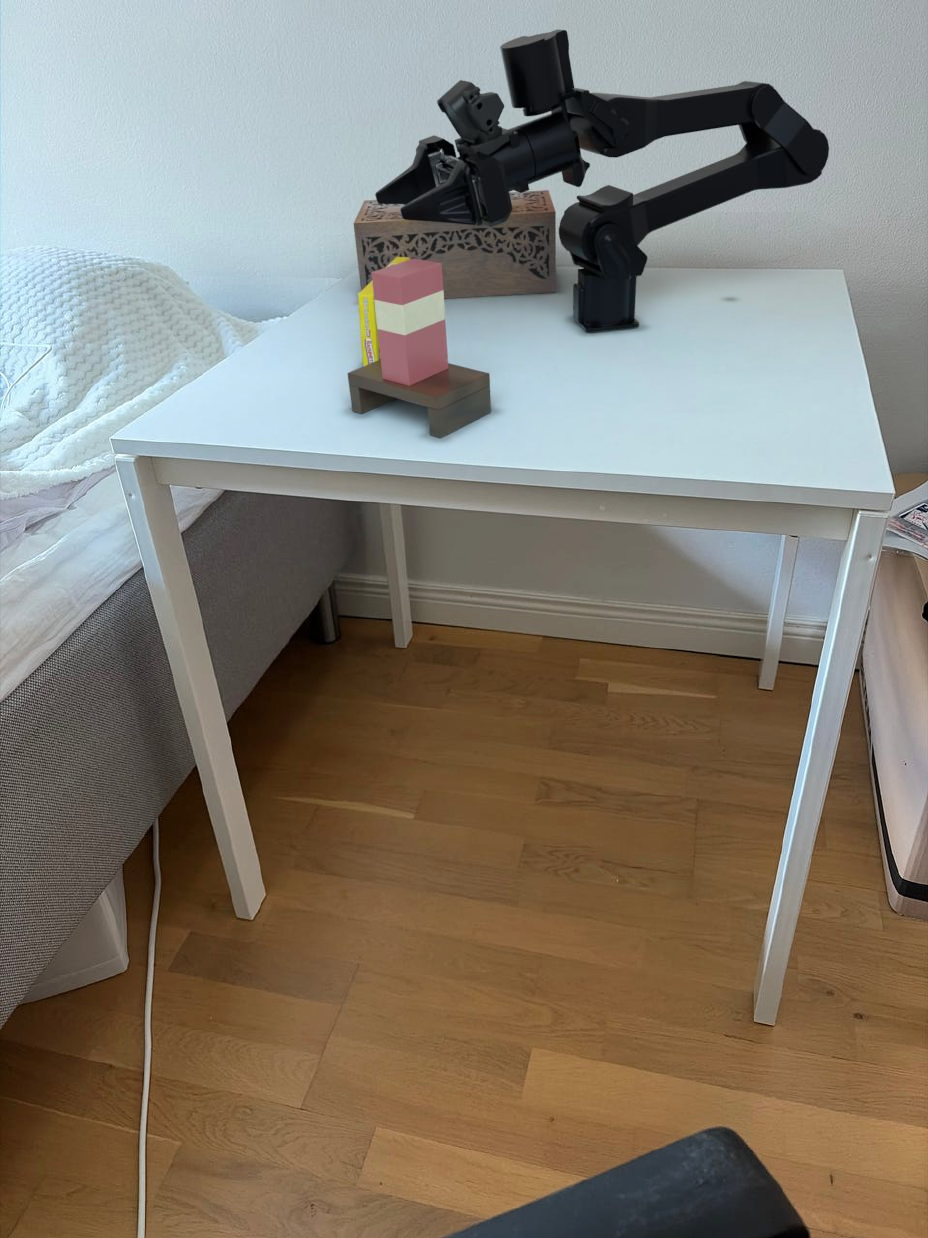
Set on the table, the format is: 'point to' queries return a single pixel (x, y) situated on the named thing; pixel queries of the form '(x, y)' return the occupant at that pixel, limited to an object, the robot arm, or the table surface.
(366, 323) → the candy box
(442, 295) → the packet
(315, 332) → the table surface
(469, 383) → the shelf
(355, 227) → the tissue box cover
